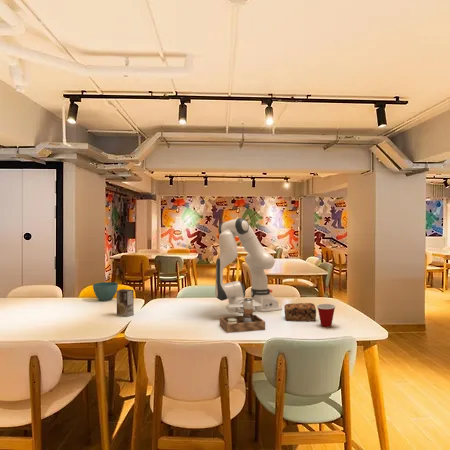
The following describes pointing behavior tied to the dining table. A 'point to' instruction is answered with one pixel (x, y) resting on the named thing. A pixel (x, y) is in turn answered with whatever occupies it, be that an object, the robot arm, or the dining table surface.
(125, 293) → the coffee box
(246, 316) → the canister
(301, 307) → the bread
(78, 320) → the dining table surface
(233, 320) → the jar
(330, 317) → the plastic cup
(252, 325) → the crate
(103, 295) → the teal bowl
